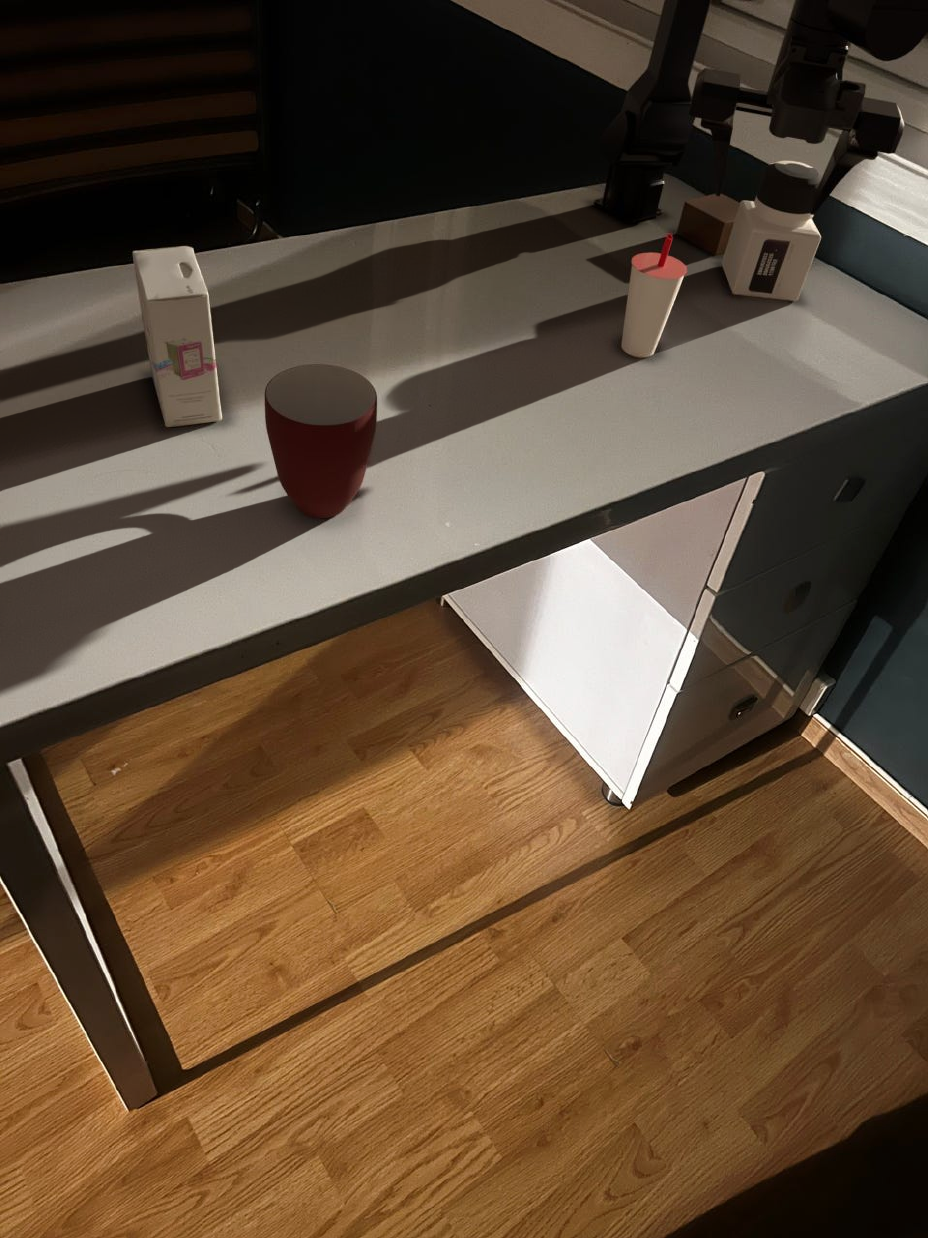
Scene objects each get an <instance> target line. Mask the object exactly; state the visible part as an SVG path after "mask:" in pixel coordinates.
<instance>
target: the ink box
mask: <svg viewBox="0 0 928 1238" xmlns="http://www.w3.org/2000/svg"><path fill="white" fill-rule="evenodd" d="M132 260H133V266H134V275H135V280H136V287H137V292H138V300H139V305H140V312H141V318H142V323H143V330H144V335H145V343H146V347H147V355H148V360H149V365H150V370H151V377H152V382H153V386H154V389H155V393H156V395H157V399H158V403H159V406H160V410H161V414H162V417H163V421H164V426H165V427H166V428H172V427H181V426H190V425H199V424H205V423H206V424H207V423H211V422H212V423H213V422H220V421H222V419H223V414H222V413H223V412H222V407H221V406H222V405H221V399H220V388H219V379H218V371H217V361H216V360H217V359H216V353H215V344H214V333H213V325H212V324H213V323H212V314H211V307H210V297H209V296H210V295H209V292H208V288H207V286H206V284H205V281H204V277H203V274H202V272H201V269H200V266H199V262H198V260H197V257H196V255H195V251H194V248H193V247H192V246H188V245H181V246H171V247H170V246H169V247H159V248H150V249H149V248H148V249H140V250H133V251H132Z"/></svg>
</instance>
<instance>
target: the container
mask: <svg viewBox="0 0 928 1238" xmlns="http://www.w3.org/2000/svg"><path fill="white" fill-rule="evenodd" d="M822 176H823V174H822V173H821V172H820V171H819V170H817V169H816V168H815V167H813V166H811V165H809V164H807V163H803V162H800V161H795V160H780V161H774V162H771V163H770V164H768V165H766V167H764V170H763V173H762V175H761V179H760V182H759V186H758V189H757V191H756V195H755V198H754V201H753V200H746V199H745V200H741V201H740V202H739V203H740V205H739V208H738V211H737V214H736V218H735V221H734V224H733V228H732V231H731V234H730V237H729V241H728V244H727V247H726V250H725V253H723V256H722V261H721V266H722V269H723V271H724V274H725V277H726V280H727V282H728V286H729V288H730V291H731V293H732V295H737V296H744V297H745V296H746V297H754V298H761V299H763V298H764V299H772V300H781V301H789V302H796V301H798V300H799V299H800V296H801V293H802V290H803V288H804V285H805V283H806V280H807V277H808V274H809V272H810V269H811V268H812V267H811V266H812V264H813V261H814V259H815V255H816V253H817V252H818V251H817V250H818V248H819V246H820V245H819V244H820V242H821V240H822V235H821V234H820V232H819V230H818V228H817V226H816V224H815V223H814V220H813V217H814V215H811V214H810V208H811V205H812V202H813V199H814V195H815V193H816V190H817V188H818V186H819V183H820V181H821V179H822Z"/></svg>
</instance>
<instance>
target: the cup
mask: <svg viewBox="0 0 928 1238" xmlns="http://www.w3.org/2000/svg"><path fill="white" fill-rule="evenodd" d="M673 239H674V237H673V235H672V234H671V233H670V232H669V233H667V234H666V236H665V240H664V243H663V245H662V250H661V253H659V252H642V253H637V254H636V255H634V256H633V257H631V271H630V277H629V285H628V292H627V298H626V299H627V300H626V307H625V315H624V322H623V330H622V336H621V337H622V339H621V349H622V351H623V352H625V353H626V354H628V355H629V356H631V357H635V358H650V357H652V356H653V355H654V354H655V352H656V350H657V347H658V344H659V342H660V339H661V337H662V334H663V332H664V329H665V326H666V325H667V321H668V319H669V316H670V313H671V311H672V308H673V306H674V304H675V301H676V298H677V296H678V293H679V291H680V288H681V285H682V282H683V280H684V277H685V276H686V274H687V273H688V267H687V266H686V264H684V263H683V262H682V261H681V260H679V259H678V258H675V257H674V256H671V255H669V252H670V248H671V245H672V242H673Z"/></svg>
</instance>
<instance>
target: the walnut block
mask: <svg viewBox="0 0 928 1238" xmlns="http://www.w3.org/2000/svg"><path fill="white" fill-rule="evenodd" d="M739 205H740V202H739V201H736V199H733V198H731V197H729V196H727V195H725V194H723V193H721V194H720V197H718V196H716V193H713V194H709V195H705V196H701V197H698V198H694V199H690V200H686V201H684V203H683V207H682V211H681V213H680V218H679V222H678V226H677V228H676V229H677V230H676V233H675V234H676V235H678V236H679V237H680V238H683V239H684V240H686V241H689V242H690V243H692V244H694V246H695V245H696V246H698V247H699V248H701V249H703V250H704V251H707V252H708V253H710V254H711V255H714V256H719V255H722V254H725V250H726V247H727V244H728V241H729V237H730V234H731V231H732V228H733V224H734V221H735V218H736V214H737V211H738V208H739Z"/></svg>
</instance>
